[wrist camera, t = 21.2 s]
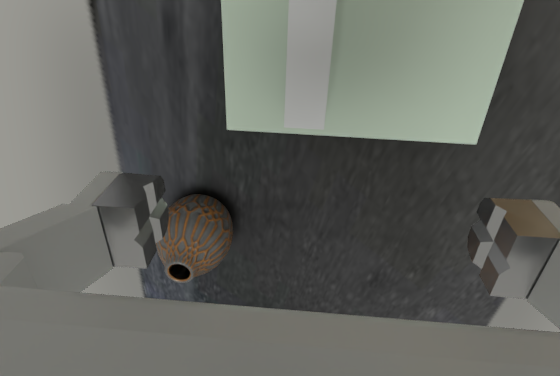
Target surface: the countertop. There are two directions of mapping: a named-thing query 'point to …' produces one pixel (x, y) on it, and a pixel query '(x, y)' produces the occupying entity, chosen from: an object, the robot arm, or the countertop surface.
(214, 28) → the countertop surface
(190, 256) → the vase
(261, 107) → the lid
